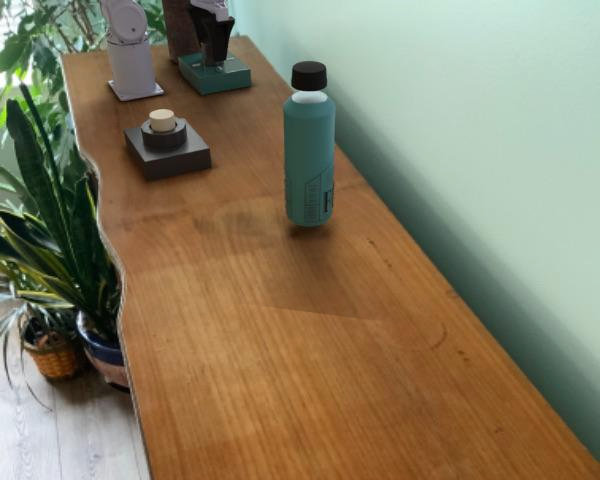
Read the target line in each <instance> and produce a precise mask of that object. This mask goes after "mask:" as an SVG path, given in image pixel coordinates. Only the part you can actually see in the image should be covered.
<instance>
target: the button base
mask: <svg viewBox="0 0 600 480" xmlns="http://www.w3.org/2000/svg"><path fill="white" fill-rule="evenodd" d="M174 119H175V126H176V127H175V128H174V129H172V130H169V131H164V132H163V131H154V130H152V128H151V123H150V118H149V119H147V120H145V121H143V122H142V124H141V125H140V126H135V127H130V128H129V127H128V128H123V129H122V132H123V137H124V142H125V147H126V149H127V151H128V152H129V153H130V156H131V157H132V159H133V161H135V162H136V164H137V166H138V167H139V169H140V171H141V172H142V173H143V176H144V177H145V178H146V179H147V181H149V182H150V181H155V180H159V179H160V180H161V179H164V178H167V177H173V176H177V175H181V174H182V175H183V174H186V173H191V172H195V171H199V170H203V169H209V168H212V166H213V165H212V156H211V148H210V146H209V145H208V144H207V143H206V142H205V140H204V139H202V137H201V136H200V134H198V132H196V131H197V130H195V129H194V128H193V127H192V125H191V124H190V123H189V122H188V121H187V119H186V118H185V117H180V118H179V117H177V116H174Z"/></svg>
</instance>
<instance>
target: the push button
mask: <svg viewBox="0 0 600 480" xmlns="http://www.w3.org/2000/svg"><path fill="white" fill-rule="evenodd" d="M148 116H149V119H150V123H151V128H152V130H154V131H163V132H164V131H169V130H172V129H174V128H175V127H176V126H175V119H174V117H175V113H174V112H173V111H172V110H170V109H167V108H165V109H164V108H163V109H155V110H153V111H150V113H149V115H148Z"/></svg>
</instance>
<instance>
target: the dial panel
mask: <svg viewBox="0 0 600 480" xmlns="http://www.w3.org/2000/svg"><path fill="white" fill-rule="evenodd" d="M178 59H179V64H178V67H179V73H180V74H181V76H183V78H184V79H185V80H186V81H187V82H188V83H189V84H190V85H191V86H192V87H193V88H194V89H195V90H196V91H197V92H198V93H199V94H200V95H201V96H203V95H208V94H214V93H218V92H224V91H229V90H230V91H231V90H235V89H240V88H247V87H252V71H251V70H252V69H251V68H250V67H249V66H248V65H247V64H246V63H245V62H243V61H242V60H241V59H240V58H239V57H237V55H235V54H234V53H233V52H232V51H231V50H230V49H228V52H227V58H226V60H225V61H224V63H223V64H221V65H217V66H209V65H205V64H204V63H203V59H202V53H196V54H190V55H184V56H178Z"/></svg>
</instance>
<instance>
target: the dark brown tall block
mask: <svg viewBox="0 0 600 480" xmlns="http://www.w3.org/2000/svg"><path fill="white" fill-rule="evenodd" d="M187 4H191V1H190V0H161V5H162V7H161V8H162V13H163V20H164V21H163V22H164V28H165V34H166V42H167V47H168V53H169V57H170V59H171V60H173V61H174V63H176V64H178V65H179V59H178V56H184V55H190V54H196V53H202V49H201V48H200V45H199V43H198V39H197V36H196V32H195V29H194V26H193V24H192V21H191V19H190V17H189V15H188V13H187V11H186V10H185V7H184V6H185V5H187Z"/></svg>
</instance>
